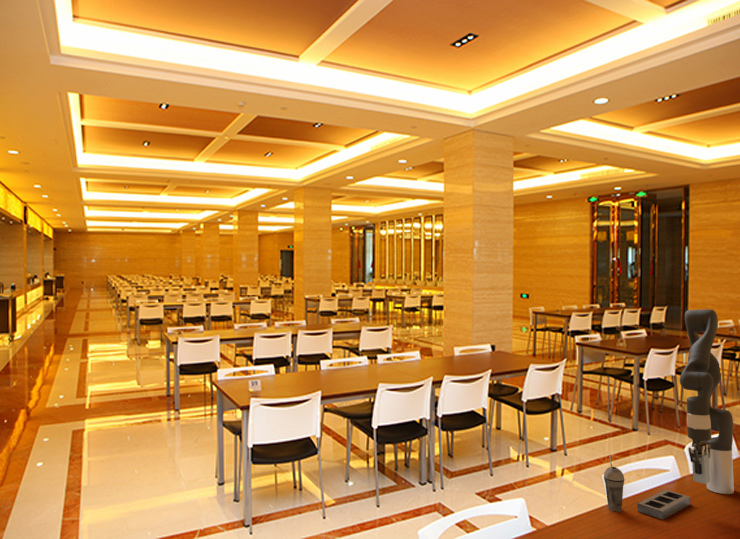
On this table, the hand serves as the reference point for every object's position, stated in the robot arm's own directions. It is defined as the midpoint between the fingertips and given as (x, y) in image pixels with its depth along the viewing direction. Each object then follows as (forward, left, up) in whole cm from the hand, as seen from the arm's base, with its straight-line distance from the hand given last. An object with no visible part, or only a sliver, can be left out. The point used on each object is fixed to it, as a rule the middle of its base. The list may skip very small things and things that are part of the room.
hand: (701, 472), depth 188 cm
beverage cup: (+22, -21, -15) cm, 34 cm away
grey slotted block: (+6, -11, -15) cm, 20 cm away
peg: (0, 0, -3) cm, 3 cm away
